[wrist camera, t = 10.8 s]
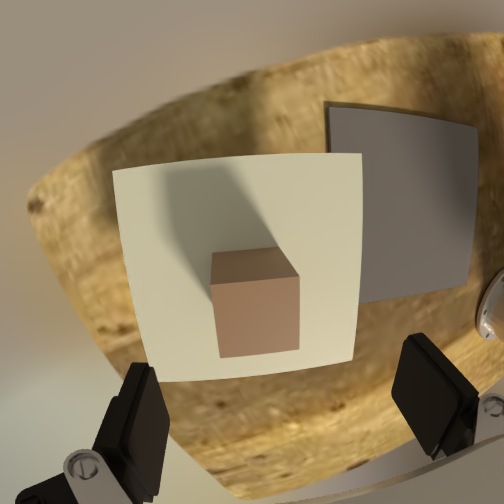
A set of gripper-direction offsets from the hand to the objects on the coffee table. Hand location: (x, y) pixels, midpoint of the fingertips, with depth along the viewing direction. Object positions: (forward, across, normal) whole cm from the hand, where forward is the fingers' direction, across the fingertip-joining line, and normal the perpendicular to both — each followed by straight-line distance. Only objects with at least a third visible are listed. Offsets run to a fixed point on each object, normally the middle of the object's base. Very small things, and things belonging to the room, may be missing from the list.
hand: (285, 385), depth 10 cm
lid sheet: (+10, +1, 0) cm, 10 cm away
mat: (+20, -18, -2) cm, 27 cm away
